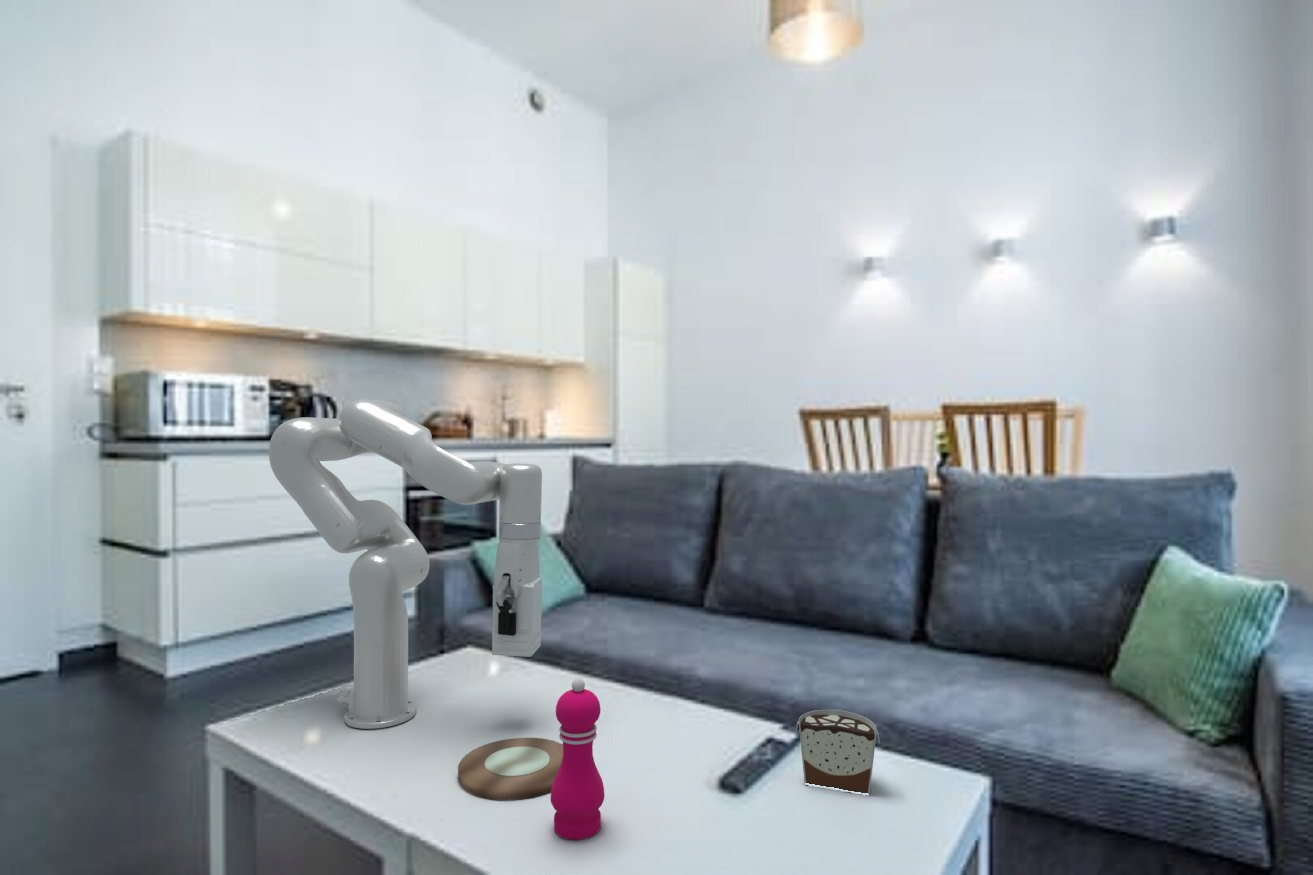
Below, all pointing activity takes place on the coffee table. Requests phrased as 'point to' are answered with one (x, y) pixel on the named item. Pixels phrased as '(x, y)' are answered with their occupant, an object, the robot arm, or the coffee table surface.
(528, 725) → the coffee table surface
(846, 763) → the food container
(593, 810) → the pepper mill
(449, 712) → the coffee table surface
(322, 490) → the robot arm
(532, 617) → the supplement box
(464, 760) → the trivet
